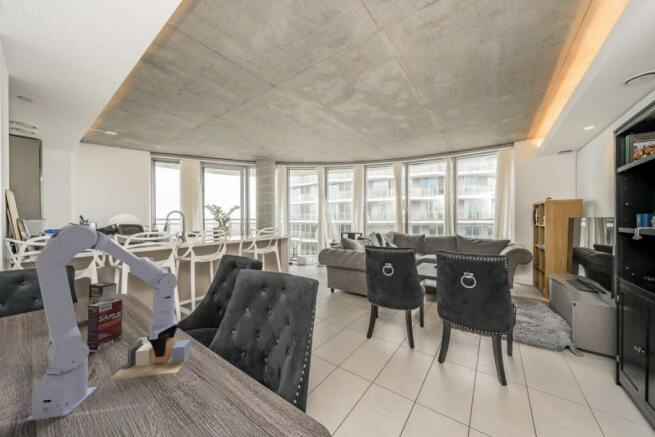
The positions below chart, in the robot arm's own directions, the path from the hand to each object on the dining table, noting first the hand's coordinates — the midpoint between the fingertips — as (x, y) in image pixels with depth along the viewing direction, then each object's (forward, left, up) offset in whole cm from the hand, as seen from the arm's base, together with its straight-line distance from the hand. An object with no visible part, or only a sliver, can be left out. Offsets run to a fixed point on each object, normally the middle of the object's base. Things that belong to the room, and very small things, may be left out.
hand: (164, 351), depth 79 cm
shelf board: (-2, +2, -3) cm, 4 cm away
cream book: (0, +5, -2) cm, 6 cm away
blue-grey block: (0, -5, -2) cm, 6 cm away
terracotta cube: (0, 0, -2) cm, 2 cm away
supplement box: (+15, +25, -3) cm, 30 cm away
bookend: (0, +9, -2) cm, 9 cm away
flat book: (+14, +12, -3) cm, 19 cm away
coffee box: (+46, +45, -3) cm, 65 cm away
